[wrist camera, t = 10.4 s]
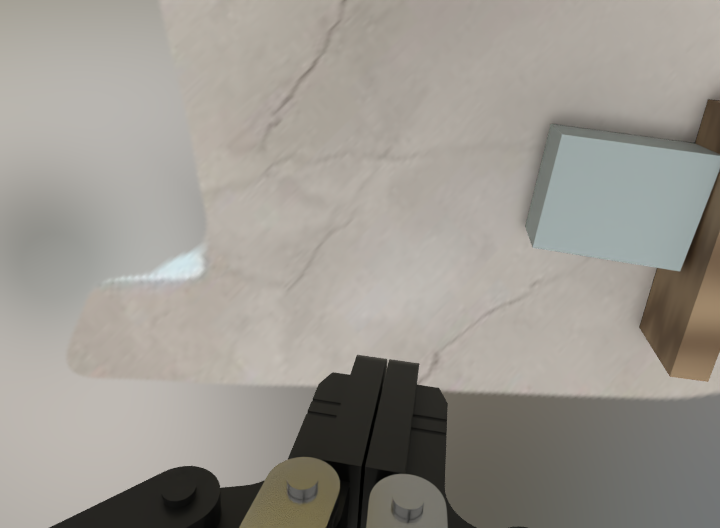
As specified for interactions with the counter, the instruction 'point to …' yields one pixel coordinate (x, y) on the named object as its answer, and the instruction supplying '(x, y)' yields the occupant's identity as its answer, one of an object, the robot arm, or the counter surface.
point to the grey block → (620, 196)
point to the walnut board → (691, 287)
